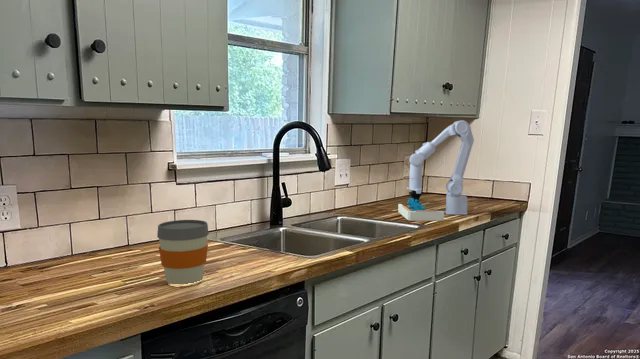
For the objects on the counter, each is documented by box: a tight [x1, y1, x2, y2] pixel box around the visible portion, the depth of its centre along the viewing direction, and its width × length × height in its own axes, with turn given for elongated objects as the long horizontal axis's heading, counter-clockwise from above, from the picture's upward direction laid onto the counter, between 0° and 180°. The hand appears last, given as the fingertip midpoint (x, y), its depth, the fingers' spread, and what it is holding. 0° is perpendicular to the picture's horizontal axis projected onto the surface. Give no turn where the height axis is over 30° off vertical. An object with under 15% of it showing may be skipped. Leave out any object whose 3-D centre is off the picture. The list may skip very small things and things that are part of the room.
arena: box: [397, 203, 445, 222], centre depth 211 cm, size 16×22×4 cm
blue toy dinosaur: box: [407, 198, 427, 211], centre depth 215 cm, size 11×6×10 cm
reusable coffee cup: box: [156, 219, 210, 284], centre depth 117 cm, size 13×12×15 cm
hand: (414, 206), depth 220 cm, fingers closed
